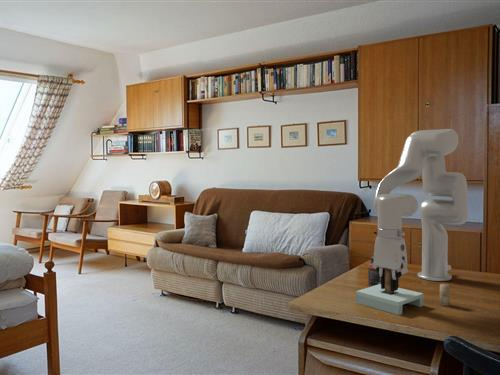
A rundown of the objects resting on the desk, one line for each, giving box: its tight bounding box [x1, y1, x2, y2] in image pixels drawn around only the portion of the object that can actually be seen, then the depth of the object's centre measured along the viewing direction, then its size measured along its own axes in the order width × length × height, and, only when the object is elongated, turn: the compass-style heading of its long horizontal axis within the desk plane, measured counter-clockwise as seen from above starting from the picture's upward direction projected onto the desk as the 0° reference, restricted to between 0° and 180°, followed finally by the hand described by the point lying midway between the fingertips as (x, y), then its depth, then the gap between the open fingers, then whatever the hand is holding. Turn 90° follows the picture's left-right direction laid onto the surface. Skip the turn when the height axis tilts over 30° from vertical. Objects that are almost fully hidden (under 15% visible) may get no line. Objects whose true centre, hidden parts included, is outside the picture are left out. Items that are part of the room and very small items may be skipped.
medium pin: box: [439, 283, 451, 307], centre depth 146 cm, size 3×3×6 cm
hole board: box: [355, 284, 424, 316], centre depth 147 cm, size 14×16×4 cm
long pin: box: [385, 268, 394, 295], centre depth 147 cm, size 3×3×10 cm
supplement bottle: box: [367, 255, 381, 287], centre depth 167 cm, size 6×6×11 cm
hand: (389, 288), depth 147 cm, fingers closed on long pin, 3 cm apart
